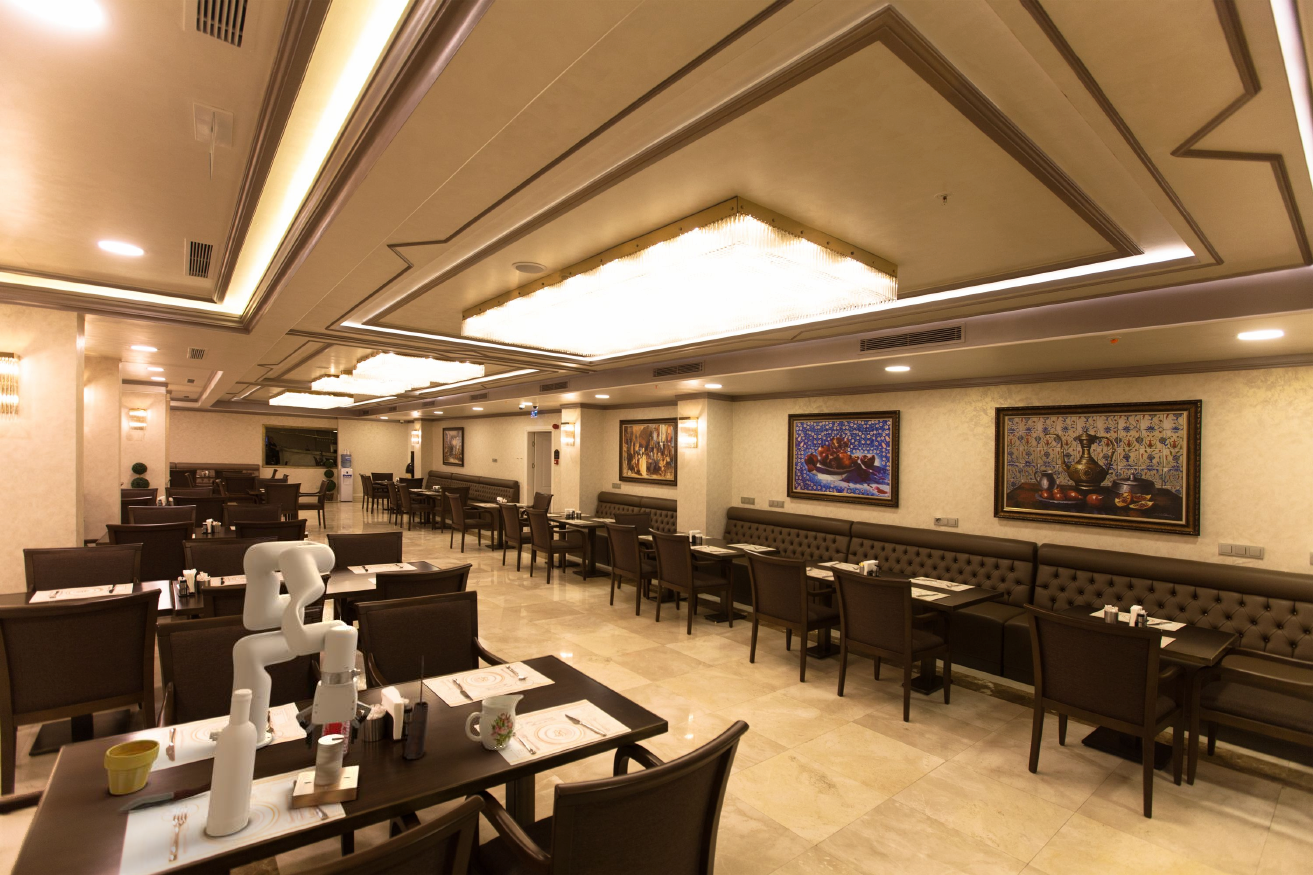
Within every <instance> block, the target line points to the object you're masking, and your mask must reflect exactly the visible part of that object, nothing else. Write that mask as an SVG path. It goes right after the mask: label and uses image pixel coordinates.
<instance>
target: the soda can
mask: <svg viewBox="0 0 1313 875" xmlns="http://www.w3.org/2000/svg"><path fill="white" fill-rule="evenodd" d="M350 728H351V722H350V721H348V722H339V723H330V724H322V727H321V737H320V738H322V737H324V736H328V735H342V736H344V737H345V739H344V749H343V758H344V757H345V756H346V755H347V753H348V748H349V738H350Z"/></svg>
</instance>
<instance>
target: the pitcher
mask: <svg viewBox="0 0 1313 875" xmlns="http://www.w3.org/2000/svg"><path fill="white" fill-rule="evenodd" d="M523 698H524V695H523V694H499V695H498V694H497V695H492V696H488V697H486V698H484V699H483V700H482V701H481V708H482V711H481V712H480V711H479V712H478V711H476V712H473V713H471V714H470V715H469V716H468V718H467V719H466V722H465V734H466V736H467V738H468V739H469V740H471V741H473V742H477V743H479V742H481V743H482V744H483V746H484V748H485V749H487V750H491V751H498V750H503V749H505V748H506V747H507V746H508V744H509V743H510V741H511V740H512V737H513V735H514V732H515V728H516V721H517V717H516V707H517V704H518V702H519V701H520V700H521V699H523ZM475 718H479V721H478V731H479V735H478V736H476V735H474V734H472V732H471V723H472V721H473V719H475ZM506 744H507V745H506ZM504 745H505V746H504ZM500 746H502V747H500ZM495 747H496V748H495Z"/></svg>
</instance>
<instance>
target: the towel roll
mask: <svg viewBox="0 0 1313 875" xmlns="http://www.w3.org/2000/svg"><path fill="white" fill-rule="evenodd" d="M344 739H345V737H344V736H342V735H328V736H324V737H322V738H321V737H320V738H319V739H318V741H317V749H316V757H315V758H316V760H315V769H314V771H315V778H314V783H315V784H316V785H322V786H323V785H330V784H333V783H336V782H338V781H339V780H340V778H341V770H342V768H343V758H344V757H343V749H344Z"/></svg>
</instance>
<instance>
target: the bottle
mask: <svg viewBox="0 0 1313 875" xmlns="http://www.w3.org/2000/svg"><path fill="white" fill-rule="evenodd" d="M251 698H252V691H251V690H250V689H240V690H237V691H235V692H234V693H233V697H232V696H231V701H232V706H231V705H230V709H231V715H230V714H229V718H230V723H229V722H228V723H227V725H226V726H224V727H223V728H222V729H221V731H220V732H221V733H220V735H219V737H218V739H217V741H215V750H214V759H213V767H212V776H211V781H212V784H211V789H210V794H209V800H208V811H207V817H206V821H205V824H206V829H205V831H206V834H207V835H209V836H211V837H223V836H225V837H226V836H229V835H233V834H235V833H237V832H239V831H241V830H242V829H244V828H245V827H246V826H247V825H248V822H249V817H250V812H251V807H250V806H251V798H252V788H253V781H254V772H255V771H254V770H255V762H256V752H257V749H256V744H257V731H256V728H255V725H254V724H252V723H251V722H250V721H249V712H250V703H251Z"/></svg>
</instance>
